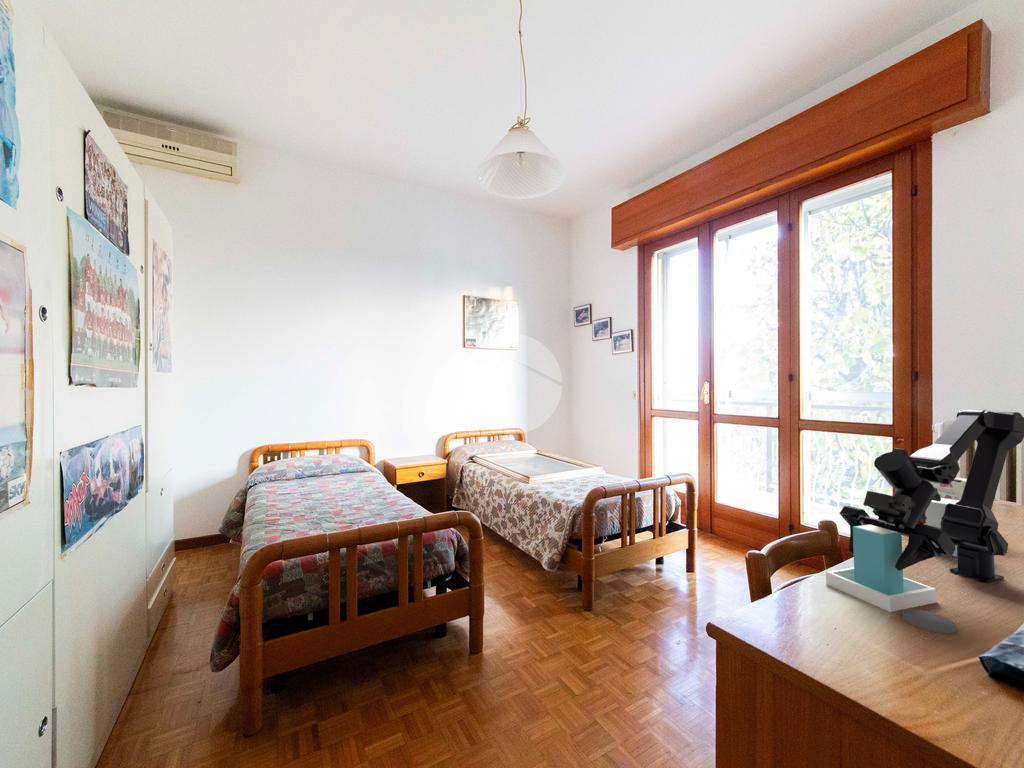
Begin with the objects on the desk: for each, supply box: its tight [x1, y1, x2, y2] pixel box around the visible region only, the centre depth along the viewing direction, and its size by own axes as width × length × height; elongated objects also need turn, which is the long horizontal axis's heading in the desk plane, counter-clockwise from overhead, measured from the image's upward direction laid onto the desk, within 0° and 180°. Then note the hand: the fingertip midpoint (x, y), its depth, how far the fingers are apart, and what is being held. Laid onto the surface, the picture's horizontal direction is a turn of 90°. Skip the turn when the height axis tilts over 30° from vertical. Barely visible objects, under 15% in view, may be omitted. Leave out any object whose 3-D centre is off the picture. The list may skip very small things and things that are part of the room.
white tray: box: [825, 566, 938, 613], centre depth 89 cm, size 13×13×3 cm
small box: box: [925, 498, 959, 558], centre depth 112 cm, size 8×6×13 cm
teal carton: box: [853, 524, 904, 595], centre depth 90 cm, size 5×6×13 cm
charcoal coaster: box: [901, 608, 957, 635], centre depth 78 cm, size 7×7×1 cm
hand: (872, 560), depth 89 cm, fingers open, 9 cm apart
